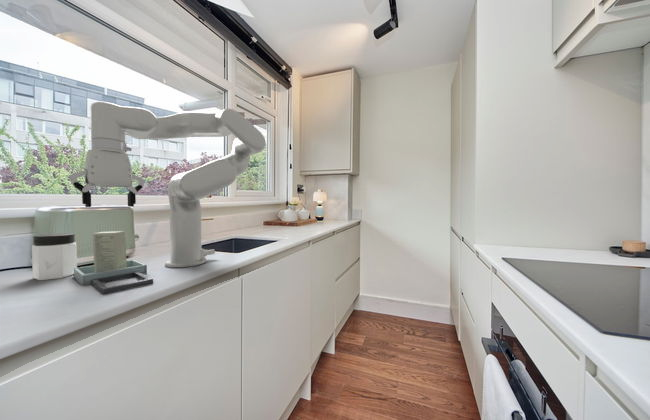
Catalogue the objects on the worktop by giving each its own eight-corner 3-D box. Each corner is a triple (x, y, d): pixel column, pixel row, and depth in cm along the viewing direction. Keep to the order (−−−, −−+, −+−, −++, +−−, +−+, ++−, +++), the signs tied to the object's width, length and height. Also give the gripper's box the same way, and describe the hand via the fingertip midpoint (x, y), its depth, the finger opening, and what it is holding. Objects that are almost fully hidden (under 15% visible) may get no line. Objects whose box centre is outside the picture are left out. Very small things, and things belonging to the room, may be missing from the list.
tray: (133, 267, 83) (133, 259, 82) (146, 273, 75) (146, 265, 75) (73, 276, 71) (73, 268, 71) (82, 285, 64) (82, 275, 64)
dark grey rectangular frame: (137, 275, 73) (137, 271, 73) (153, 283, 66) (153, 278, 66) (91, 284, 65) (91, 279, 65) (103, 294, 58) (103, 289, 58)
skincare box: (127, 270, 76) (126, 230, 76) (117, 274, 71) (117, 232, 71) (103, 271, 75) (103, 231, 75) (92, 275, 70) (91, 232, 70)
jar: (26, 282, 66) (25, 237, 66) (38, 275, 73) (37, 234, 73) (73, 277, 71) (72, 235, 71) (80, 270, 78) (79, 232, 78)
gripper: (140, 153, 82) (141, 206, 82) (64, 144, 68) (66, 207, 68) (148, 151, 77) (149, 206, 78) (69, 139, 63) (71, 207, 64)
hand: (110, 206), depth 73 cm, fingers open, 9 cm apart
